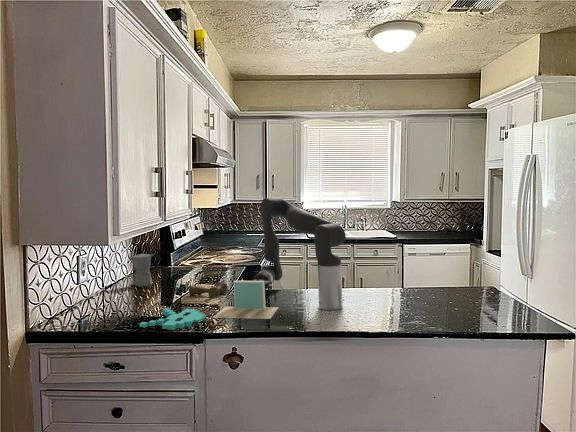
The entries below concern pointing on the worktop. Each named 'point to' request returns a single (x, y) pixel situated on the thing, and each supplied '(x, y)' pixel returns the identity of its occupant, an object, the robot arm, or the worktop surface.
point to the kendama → (209, 290)
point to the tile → (249, 295)
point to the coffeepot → (143, 268)
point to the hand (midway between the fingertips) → (252, 289)
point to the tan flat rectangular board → (246, 313)
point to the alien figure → (176, 319)
